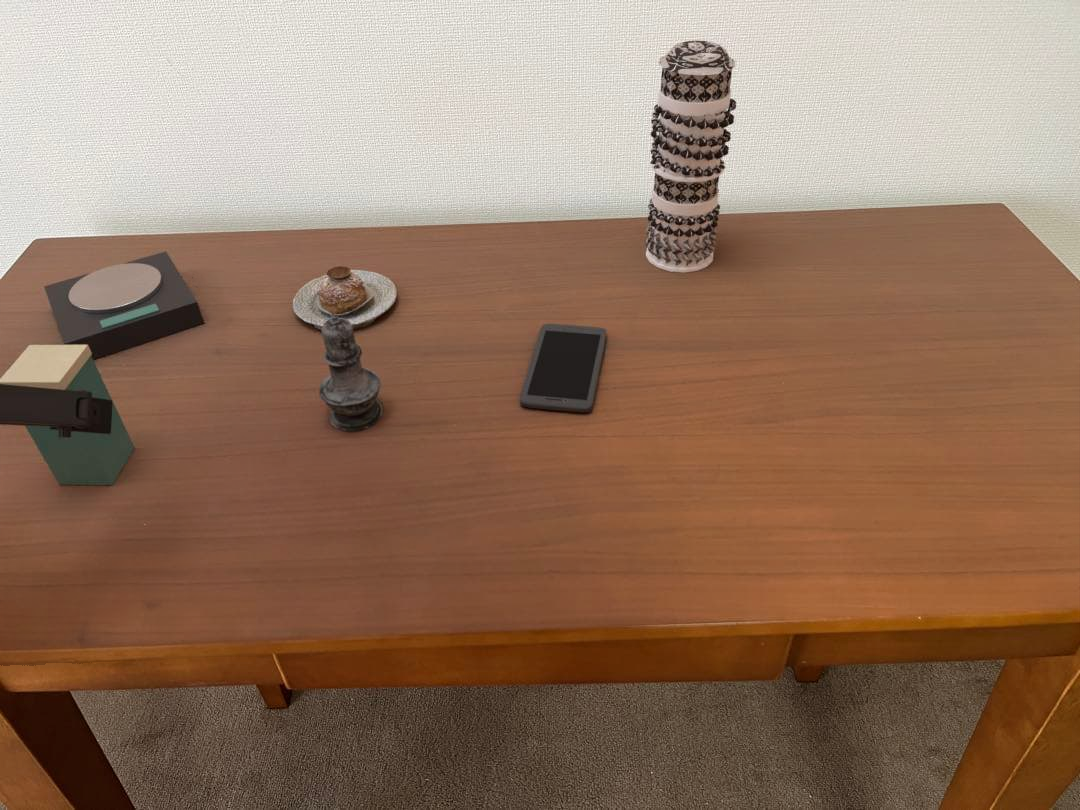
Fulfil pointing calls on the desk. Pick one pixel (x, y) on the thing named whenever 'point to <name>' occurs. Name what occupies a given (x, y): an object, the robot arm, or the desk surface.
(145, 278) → the scale pan
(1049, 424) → the desk surface
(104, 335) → the scale
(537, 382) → the cell phone
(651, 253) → the decorative candle
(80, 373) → the spice tin
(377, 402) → the dark grey piece
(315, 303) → the pastry
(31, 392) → the robot arm
